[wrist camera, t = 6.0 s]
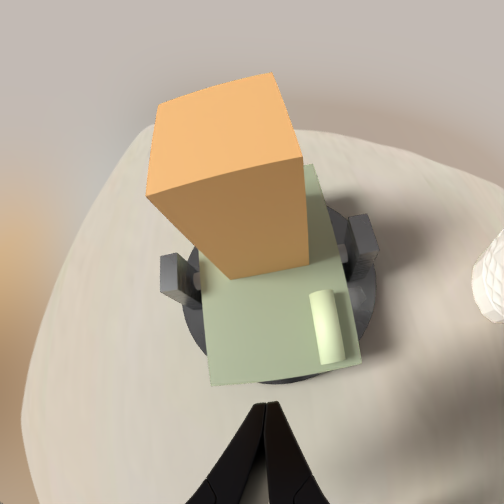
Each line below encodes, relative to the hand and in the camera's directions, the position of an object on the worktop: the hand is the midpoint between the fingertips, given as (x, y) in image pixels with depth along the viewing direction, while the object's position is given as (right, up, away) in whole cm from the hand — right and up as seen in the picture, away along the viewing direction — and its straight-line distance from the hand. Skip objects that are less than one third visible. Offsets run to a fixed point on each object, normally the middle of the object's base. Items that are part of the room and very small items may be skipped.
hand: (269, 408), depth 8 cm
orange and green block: (+1, +4, +9) cm, 10 cm away
